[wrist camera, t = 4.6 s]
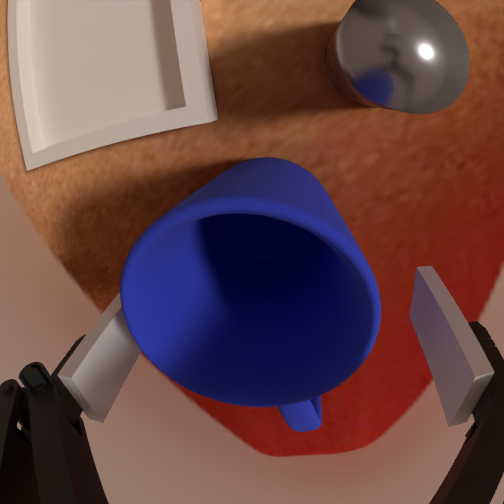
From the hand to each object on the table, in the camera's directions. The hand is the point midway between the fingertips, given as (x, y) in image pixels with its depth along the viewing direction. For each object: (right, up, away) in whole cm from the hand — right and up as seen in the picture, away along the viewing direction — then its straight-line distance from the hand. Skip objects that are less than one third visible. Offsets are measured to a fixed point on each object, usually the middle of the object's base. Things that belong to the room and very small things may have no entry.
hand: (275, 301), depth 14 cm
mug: (+1, +3, +5) cm, 6 cm away
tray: (-10, +16, -1) cm, 19 cm away
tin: (+5, +12, -1) cm, 13 cm away
